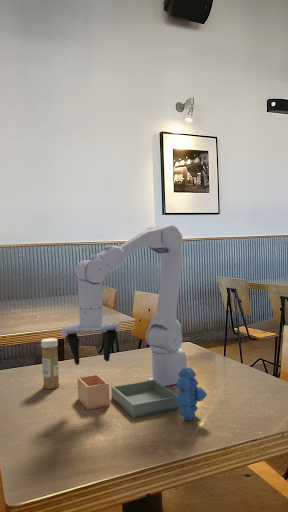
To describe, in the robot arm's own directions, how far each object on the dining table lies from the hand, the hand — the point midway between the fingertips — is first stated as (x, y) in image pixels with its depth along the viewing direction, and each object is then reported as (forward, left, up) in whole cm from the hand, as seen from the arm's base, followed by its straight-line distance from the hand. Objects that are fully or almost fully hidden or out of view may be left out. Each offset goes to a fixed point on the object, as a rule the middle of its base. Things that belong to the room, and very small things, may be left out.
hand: (91, 362), depth 111 cm
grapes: (-16, +22, -10) cm, 29 cm away
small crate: (0, 0, -10) cm, 10 cm away
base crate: (-11, +7, -10) cm, 17 cm away
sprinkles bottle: (+7, -18, -10) cm, 22 cm away
